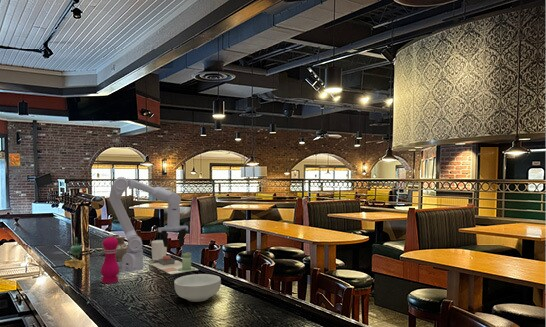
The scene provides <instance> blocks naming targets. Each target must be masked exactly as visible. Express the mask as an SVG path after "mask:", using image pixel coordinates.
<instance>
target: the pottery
mask: <svg viewBox="0 0 546 327" xmlns="http://www.w3.org/2000/svg"><path fill="white" fill-rule="evenodd" d="M113 237H114V238H116V239H117V240H118V246H117V247H116V249H117V252H116V261H117V262H122V257H123V255H124V254H126V252H127V249H128V244H127V243H125V238H126V236H121V235H119V234H113ZM106 238H109V236H108V235H107V236H106ZM101 245H102V246H101V247H102V249H103V250H104V249H105V248H104V247H103V243H102V244H101Z"/></svg>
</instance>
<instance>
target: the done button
mask: <svg viewBox="0 0 546 327" xmlns="http://www.w3.org/2000/svg"><path fill="white" fill-rule="evenodd" d="M170 258H171V255H166V256H163V260H164V261H165V260H170Z"/></svg>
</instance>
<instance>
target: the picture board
mask: <svg viewBox="0 0 546 327" xmlns="http://www.w3.org/2000/svg"><path fill="white" fill-rule="evenodd" d="M150 265H151V266H153V267H155V268H157V269H159V270H161V271H163V272H166V273H167V274H170V275H175V274H181V273H187V272H189V273H190V272H193V271H194V272H195V271H199V269H198V268H196V267H193V266H191V270H182V261H180V260H177V259H176V260H175V259H174V258H172V257H170V260H165V261H164V260H163V259H159V260H158V262H154V263H150Z"/></svg>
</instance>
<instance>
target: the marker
mask: <svg viewBox="0 0 546 327" xmlns="http://www.w3.org/2000/svg"><path fill="white" fill-rule="evenodd" d="M181 255H182V256H181V258H182V259H181V260H182V261H181V262H182V270H191V267H192V252H191V251H184V252H182V253H181Z"/></svg>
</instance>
